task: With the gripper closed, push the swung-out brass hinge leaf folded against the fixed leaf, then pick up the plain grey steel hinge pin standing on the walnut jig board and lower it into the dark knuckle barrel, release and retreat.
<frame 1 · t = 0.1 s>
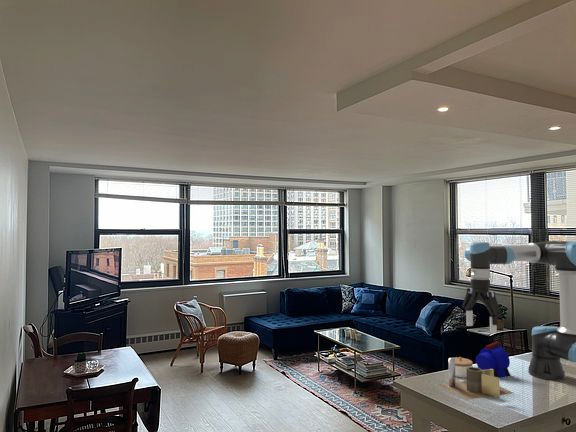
hand: (481, 329, 179), 28 cm above the kitchen island, fingers open, 13 cm apart
leaf b: (490, 385, 175), point 5 cm above the kitchen island, hinge at -65.0°
jig: (475, 391, 183), on the kitchen island
alarm clock: (491, 374, 207), on the kitchen island
lidded jar: (460, 377, 201), on the kitchen island
pin: (452, 386, 186), point 1 cm above the kitchen island, touching jig
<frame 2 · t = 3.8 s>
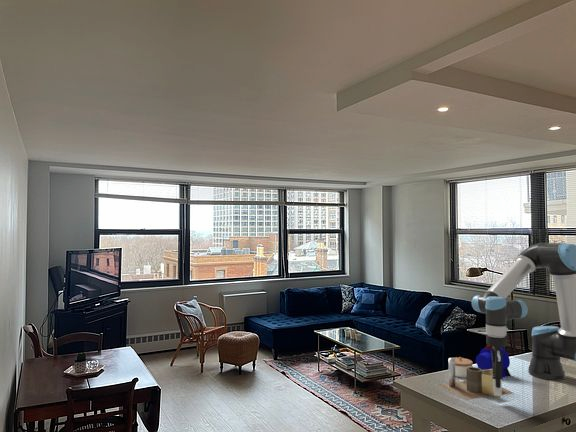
hand: (497, 394, 170), 3 cm above the kitchen island, fingers closed
leaf b: (490, 385, 175), point 5 cm above the kitchen island, hinge at -63.5°, touching gripper
everything else where it was.
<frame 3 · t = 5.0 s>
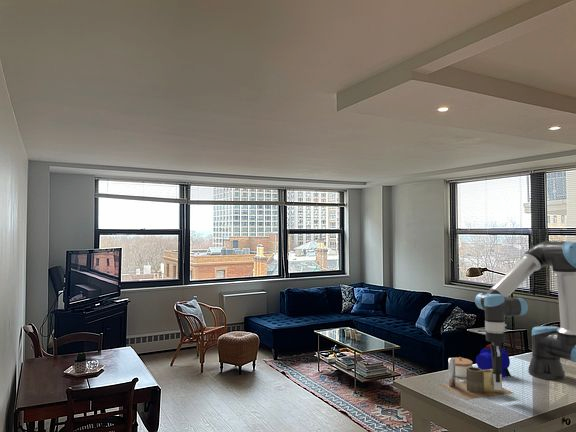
hand: (497, 389, 176), 4 cm above the kitchen island, fingers closed
leaf b: (492, 382, 179), point 5 cm above the kitchen island, hinge at -27.2°, touching gripper
everything else where it was.
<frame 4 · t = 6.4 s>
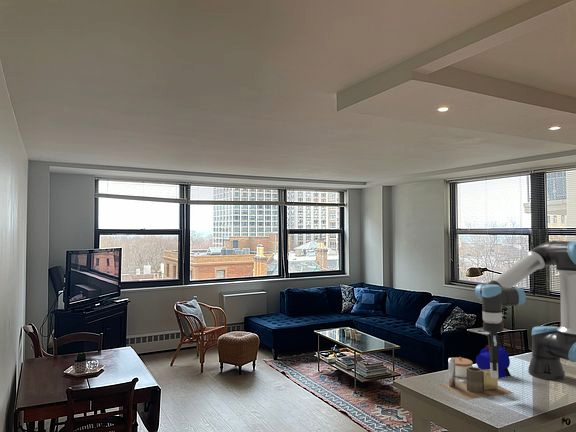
hand: (494, 377, 180), 7 cm above the kitchen island, fingers closed
leaf b: (490, 380, 182), point 5 cm above the kitchen island, hinge at -3.3°
everything else where it was.
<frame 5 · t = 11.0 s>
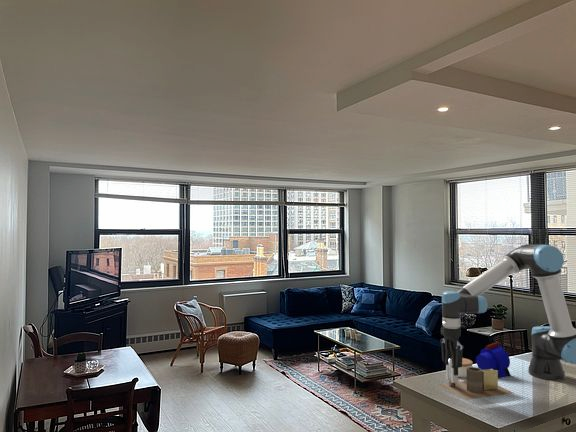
hand: (452, 380, 186), 4 cm above the kitchen island, fingers closed on pin, 3 cm apart
pin: (452, 386, 186), point 1 cm above the kitchen island, touching gripper, jig
everything else where it was.
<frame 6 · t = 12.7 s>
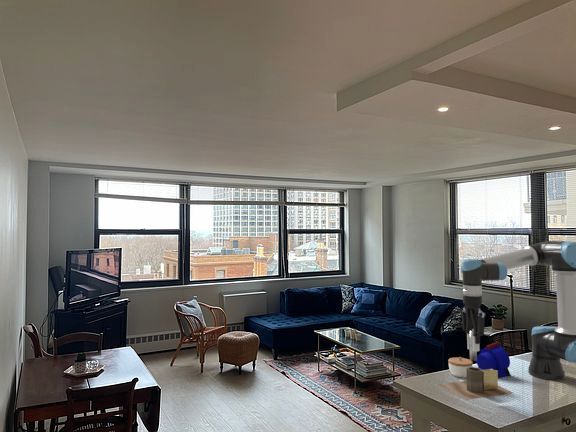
hand: (473, 349, 182), 18 cm above the kitchen island, fingers closed on pin, 3 cm apart
pin: (473, 359, 182), point 14 cm above the kitchen island, touching gripper
everything else where it was.
when the fingers open (11 cm above the kitchen island, at t = 14.5 s): pin drops 6 cm, resting on jig.
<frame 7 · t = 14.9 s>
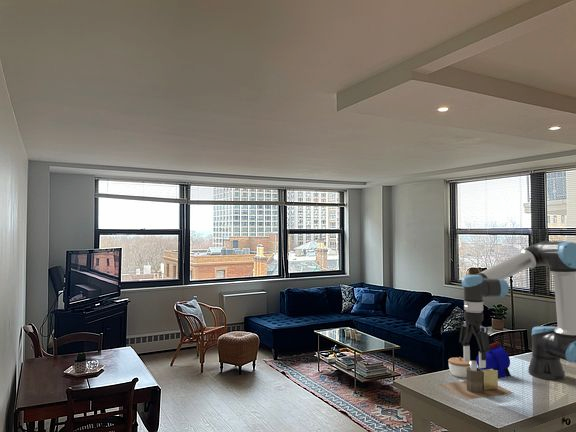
hand: (474, 364, 181), 12 cm above the kitchen island, fingers open, 9 cm apart
pin: (474, 390, 181), point 1 cm above the kitchen island, touching jig
everything else where it was.
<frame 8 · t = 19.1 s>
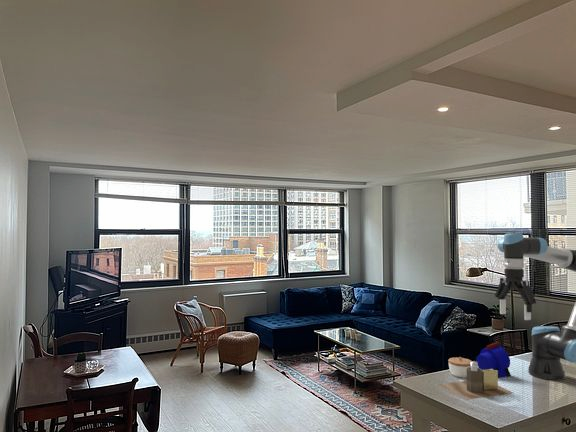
hand: (514, 316, 186), 32 cm above the kitchen island, fingers open, 13 cm apart
nothing on the kitchen island moved.
at the end: pin 0.1 cm from the target spot, point 1.2 cm above the kitchen island; pin tilted 0°; leaf b at -3° (first picture: -65°) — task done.
